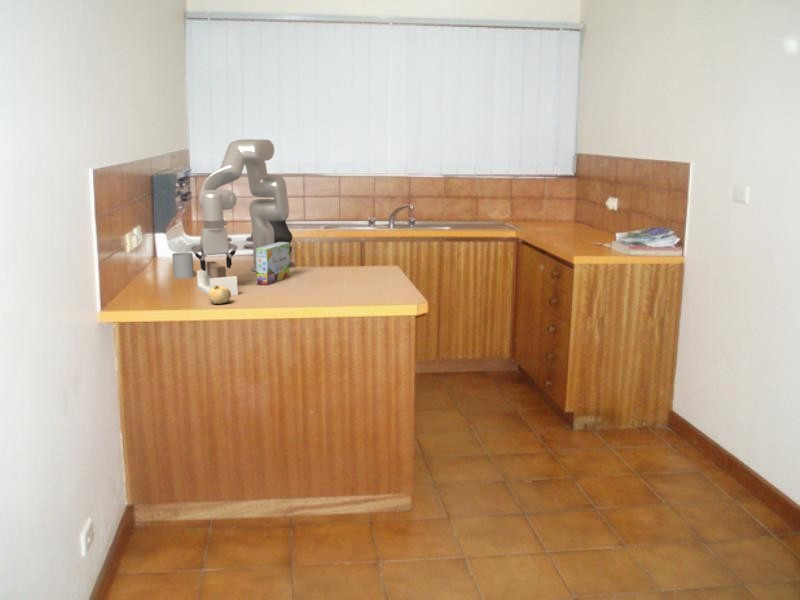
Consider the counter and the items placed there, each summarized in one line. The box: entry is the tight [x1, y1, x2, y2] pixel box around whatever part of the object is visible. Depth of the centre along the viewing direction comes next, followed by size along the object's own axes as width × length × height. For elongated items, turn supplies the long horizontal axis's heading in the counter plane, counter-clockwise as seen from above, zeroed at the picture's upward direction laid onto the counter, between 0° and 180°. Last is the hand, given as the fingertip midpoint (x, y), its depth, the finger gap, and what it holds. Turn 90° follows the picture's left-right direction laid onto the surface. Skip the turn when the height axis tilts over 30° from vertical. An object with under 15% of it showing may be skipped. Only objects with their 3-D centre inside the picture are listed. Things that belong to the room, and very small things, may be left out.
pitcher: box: [250, 219, 293, 244], centre depth 390 cm, size 21×22×25 cm
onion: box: [207, 285, 232, 305], centre depth 280 cm, size 8×8×7 cm
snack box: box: [256, 242, 291, 286], centre depth 323 cm, size 21×6×15 cm, turn 163°
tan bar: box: [205, 260, 227, 278], centre depth 301 cm, size 3×16×5 cm, turn 28°
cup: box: [171, 252, 195, 280], centre depth 332 cm, size 8×8×10 cm
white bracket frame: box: [196, 269, 239, 296], centre depth 302 cm, size 10×21×7 cm, turn 28°
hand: (216, 269), depth 301 cm, fingers open, 9 cm apart
